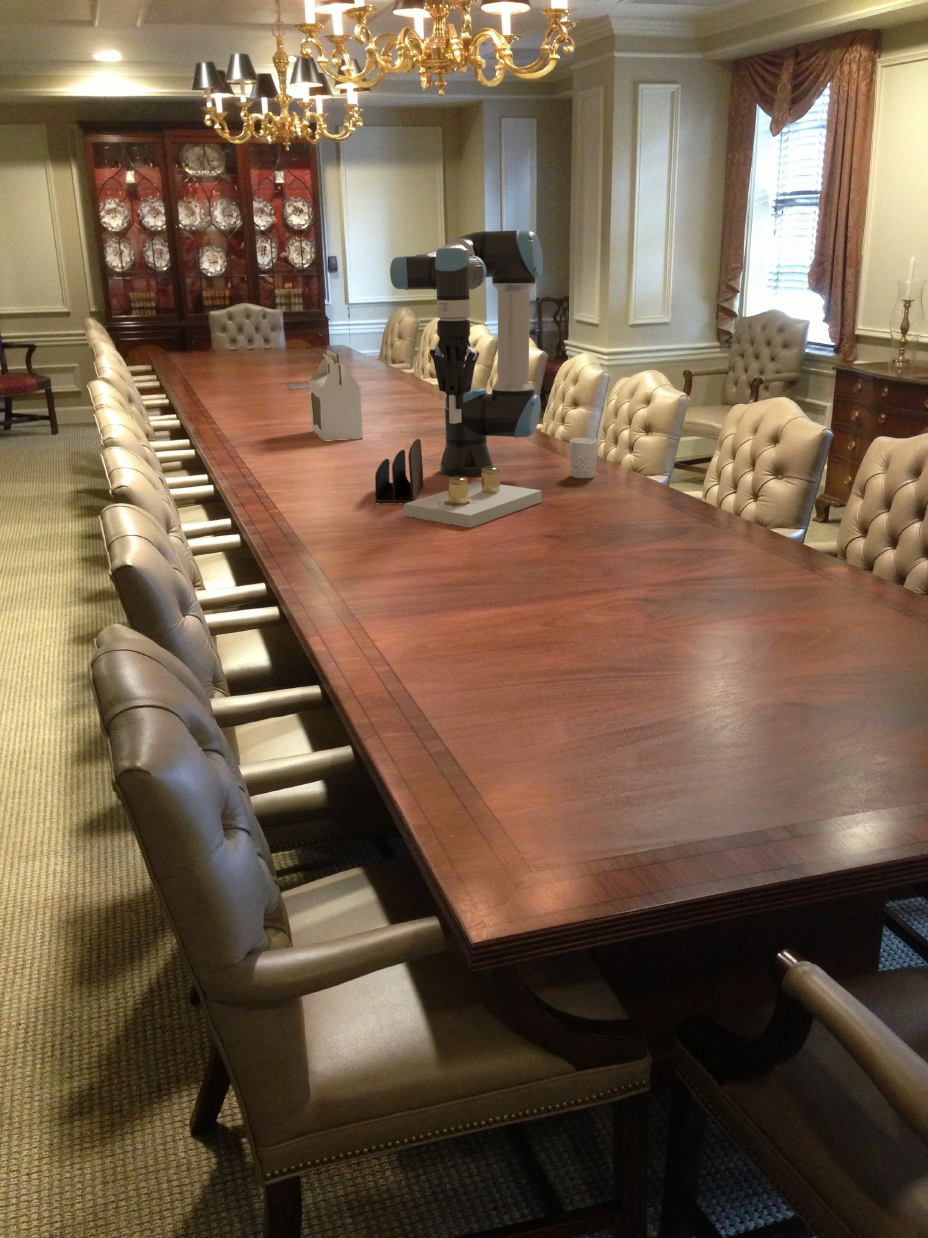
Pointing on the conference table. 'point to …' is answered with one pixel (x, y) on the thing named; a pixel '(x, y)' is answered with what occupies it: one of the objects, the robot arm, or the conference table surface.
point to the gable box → (335, 401)
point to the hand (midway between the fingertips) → (455, 422)
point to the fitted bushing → (490, 479)
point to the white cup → (583, 457)
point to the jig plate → (473, 505)
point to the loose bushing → (458, 491)
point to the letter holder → (400, 477)
